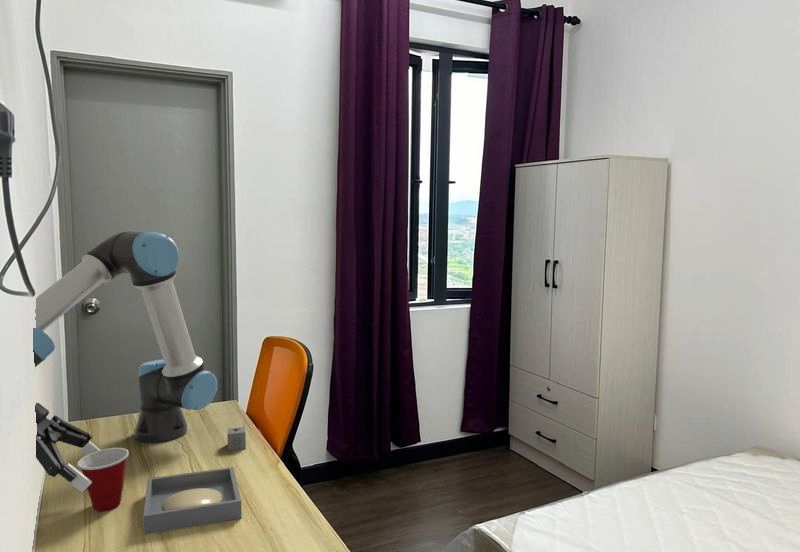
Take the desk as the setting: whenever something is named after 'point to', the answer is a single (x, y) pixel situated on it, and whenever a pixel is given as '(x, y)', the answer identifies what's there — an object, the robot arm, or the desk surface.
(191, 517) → the grey square tray
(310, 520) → the desk surface
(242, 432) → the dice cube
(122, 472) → the plastic cup
